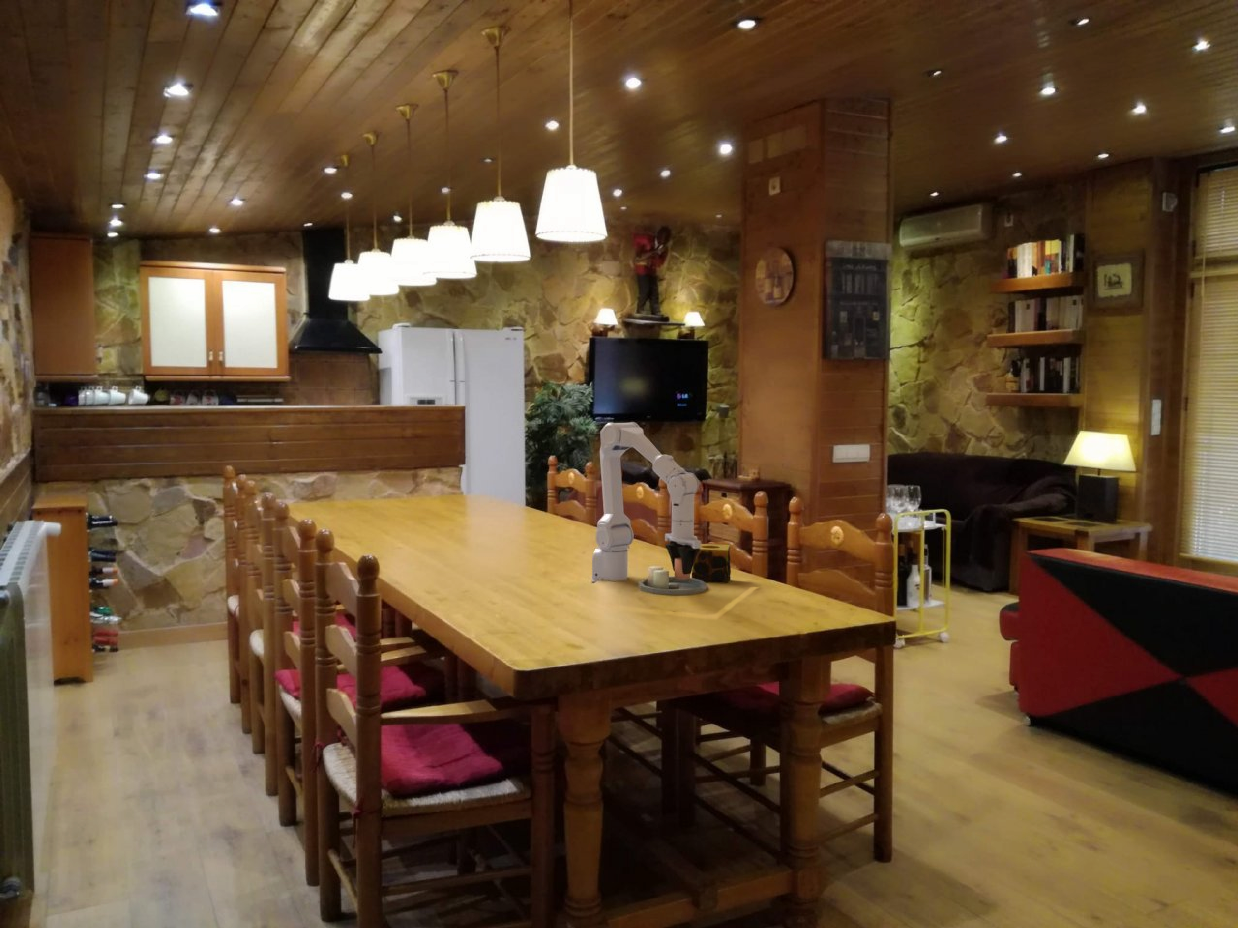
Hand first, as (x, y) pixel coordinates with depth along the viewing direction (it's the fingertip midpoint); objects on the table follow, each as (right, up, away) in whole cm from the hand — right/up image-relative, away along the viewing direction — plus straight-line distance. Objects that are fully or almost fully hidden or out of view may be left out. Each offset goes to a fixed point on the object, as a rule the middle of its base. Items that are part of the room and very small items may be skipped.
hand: (682, 572), depth 245 cm
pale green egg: (-5, -5, +1) cm, 7 cm away
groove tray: (-2, -6, +5) cm, 8 cm away
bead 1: (-7, -4, +6) cm, 10 cm away
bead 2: (0, -1, 0) cm, 1 cm away
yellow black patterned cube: (+9, -5, +17) cm, 20 cm away
